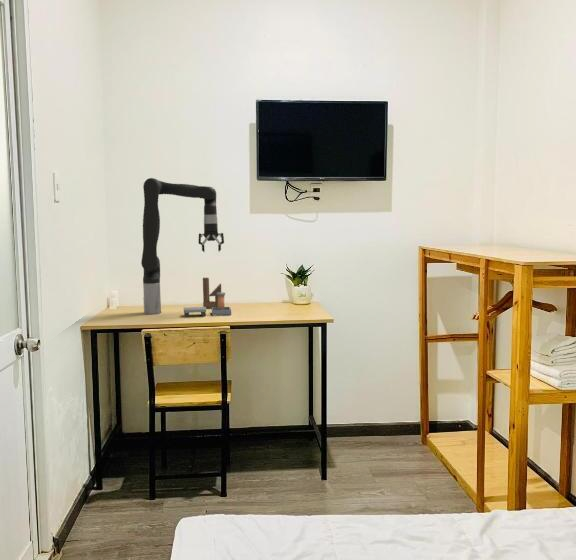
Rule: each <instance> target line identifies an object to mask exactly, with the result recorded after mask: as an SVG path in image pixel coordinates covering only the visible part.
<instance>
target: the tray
mask: <svg viewBox="0 0 576 560" xmlns="http://www.w3.org/2000/svg"><path fill="white" fill-rule="evenodd" d="M211 314H212V315H222V316H232V309H231V307H230V306H224V310H218V307H212V308H211Z"/></svg>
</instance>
